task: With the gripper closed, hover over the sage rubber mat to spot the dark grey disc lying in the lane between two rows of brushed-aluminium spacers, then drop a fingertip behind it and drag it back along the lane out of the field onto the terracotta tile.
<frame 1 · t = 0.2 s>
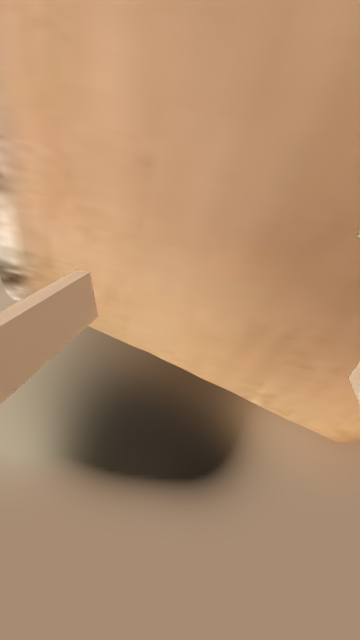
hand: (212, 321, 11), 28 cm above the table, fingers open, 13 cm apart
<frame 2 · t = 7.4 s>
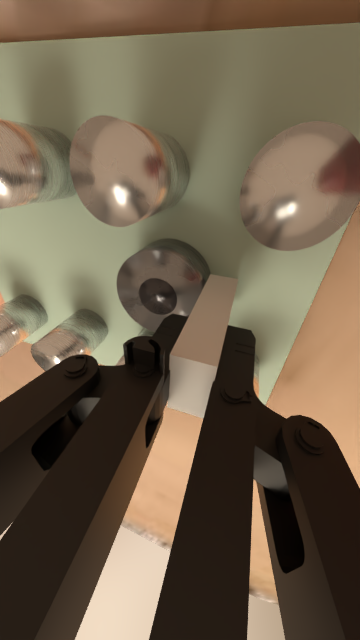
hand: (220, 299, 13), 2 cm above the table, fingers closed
spacers: (96, 282, 13), on the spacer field, point 3 cm above the table
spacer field: (120, 265, 15), on the table
dark grey disc: (172, 279, 14), point 1 cm above the table, touching gripper
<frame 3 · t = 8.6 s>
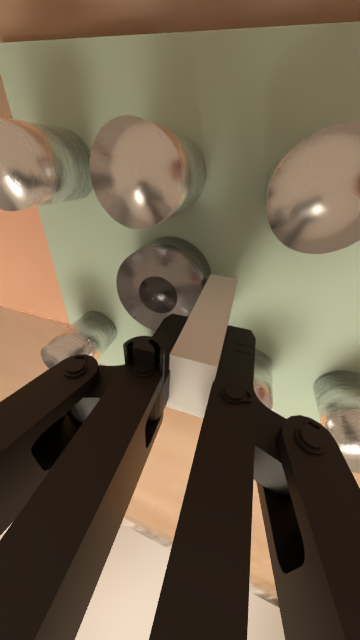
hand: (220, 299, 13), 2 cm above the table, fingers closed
spacers: (210, 305, 12), on the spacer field, point 3 cm above the table
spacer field: (219, 283, 14), on the table
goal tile: (3, 244, 18), on the table
dark grey disc: (172, 277, 14), point 1 cm above the table, touching gripper
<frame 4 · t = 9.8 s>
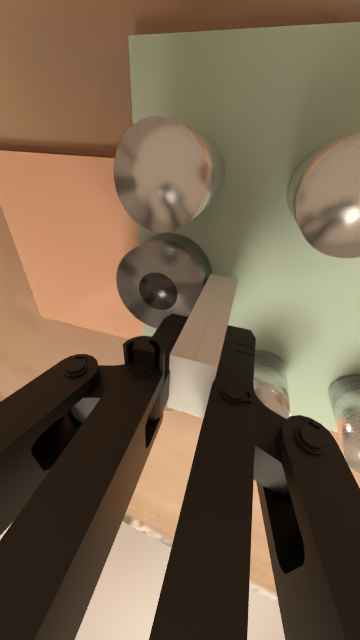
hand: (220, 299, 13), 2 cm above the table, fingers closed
spacers: (358, 335, 10), on the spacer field, point 3 cm above the table
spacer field: (342, 305, 13), on the table
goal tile: (79, 257, 16), on the table
dark grey disc: (172, 274, 14), point 1 cm above the table, touching gripper
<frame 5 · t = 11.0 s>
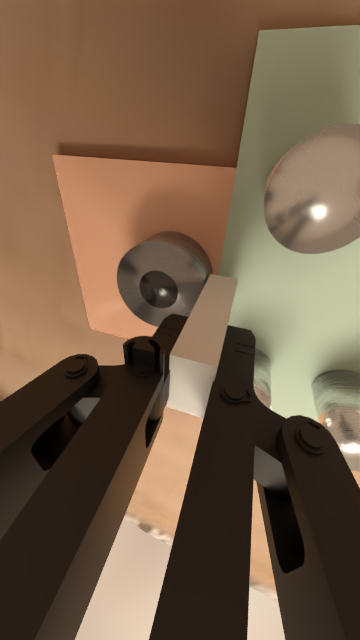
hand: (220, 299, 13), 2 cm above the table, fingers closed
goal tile: (144, 269, 15), on the table
dark grey disc: (172, 273, 14), point 1 cm above the table, touching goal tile, gripper
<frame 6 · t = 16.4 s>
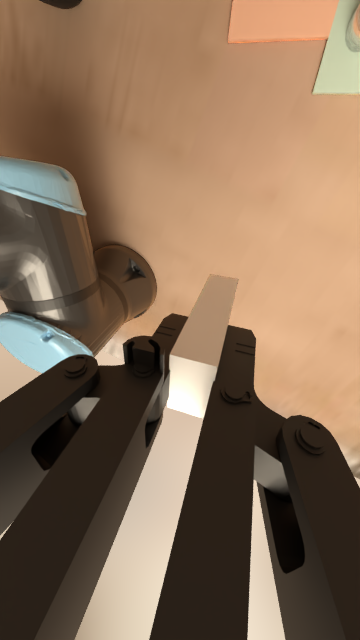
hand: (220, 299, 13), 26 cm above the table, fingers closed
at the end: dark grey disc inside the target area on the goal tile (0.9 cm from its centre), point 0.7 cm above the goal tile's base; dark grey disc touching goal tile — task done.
